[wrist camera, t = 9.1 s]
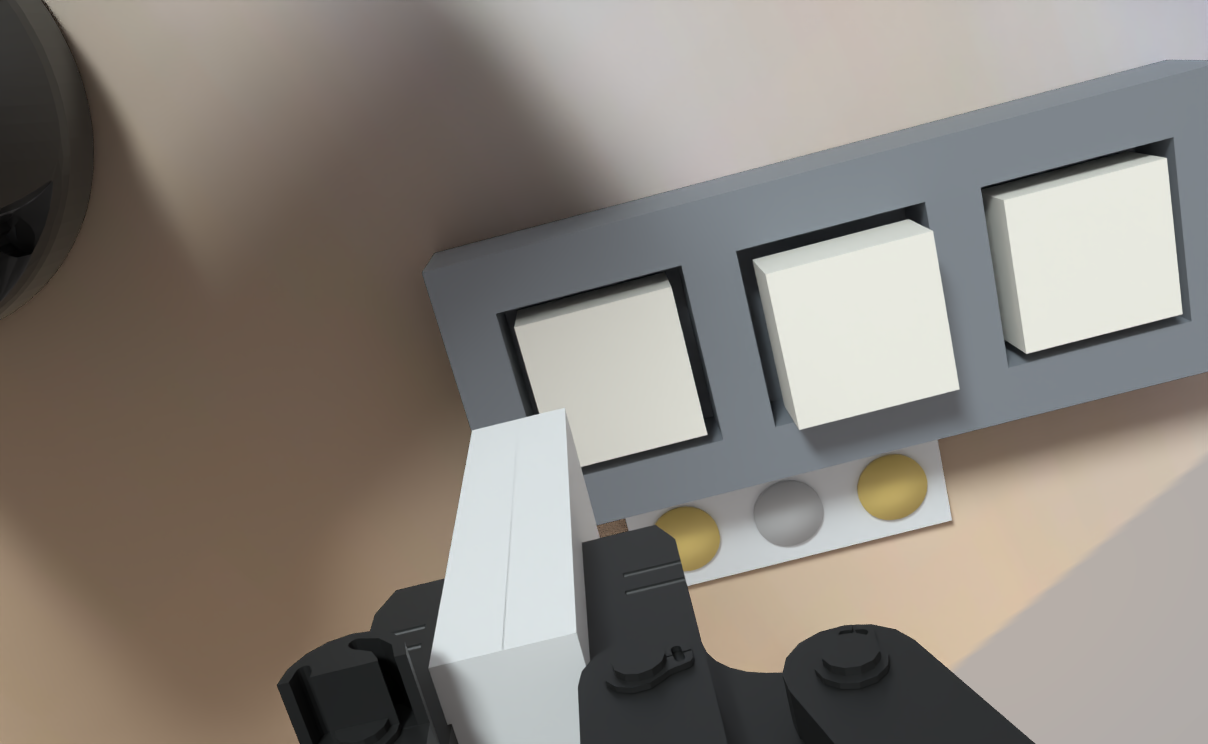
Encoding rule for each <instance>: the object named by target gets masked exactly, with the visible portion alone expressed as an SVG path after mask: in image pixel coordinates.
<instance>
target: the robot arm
mask: <svg viewBox="0 0 1208 744" xmlns="http://www.w3.org/2000/svg"><path fill="white" fill-rule="evenodd" d="M93 162H94V146H93V131H92V123H91V116H90V111H89V106H88V101H87V97H86V93H85V90H84V86H83V82H82V80H81V77H80V74H79V71H78V68H77V65H76V63H75V60H74V58H73V56H72V53H71V51H70V49H69V47H68V45H67V43H66V41H65V39H64V37H63V35H62V33H61V31H60V29H59V28H58V26H57V24H56V23H55V21H54V19H53V17H52V16H51V14H50V13H49V11H48V10H47V8H46V7H45V5H44V4H43V2H42V1H41V0H0V320H1V319H3V318H4V317H6V316H8V315H9V314H11V313H13V312H14V311H15V310H17V309H18V308H19V307H21V306H22V305H24V304H25V303H26V302H27V301H28V300H30V299H31V298H32V297H33V296H34V295H35V294H37V293H38V292H39V291H40V289H41V288H42V287H43V286H44V285H45V284H46V283H47V282H48V281H49V280H50V279H51V277H52V276H53V275H54V274H55V272H56V271H57V270H58V268H59V267H60V265H61V264H62V262H63V261H64V260H65V258H66V256H67V254H68V253H69V251H70V249H71V247H72V246H73V244H74V241H75V239H76V237H77V235H78V233H79V230H80V228H81V225H82V222H83V219H84V216H85V213H86V209H87V205H88V202H89V197H90V191H91V186H92V177H93ZM277 687H278V690H279V692H280V695H281V697H282V700H283V702H284V705H285V707H286V710H287V712H288V715H289V717H290V720H291V723H292V725H293V728H294V730H295V733H296V735H297V738H298V740H299V743H300V744H1035V743H1034V742H1033V741H1031V740H1030V739H1029V738H1028V737H1027V736H1026V735H1024V734H1023V733H1022V732H1021V731H1020V730H1019V729H1018V728H1016V727H1015V726H1014V725H1013V724H1012V723H1010V722H1009V721H1008V720H1007V719H1006V718H1005V717H1004V716H1002V715H1001V714H1000V713H999V712H998V711H997V710H995V709H994V708H993V707H992V706H991V705H990V704H989V703H987V702H986V701H985V700H983V698H982V697H980V696H979V695H978V694H977V693H976V692H974V691H973V690H972V689H971V688H970V687H969V686H967V685H966V684H965V683H964V682H963V681H962V680H961V679H959V678H958V677H957V676H956V675H955V674H954V673H952V672H951V671H950V670H949V669H948V668H947V667H945V666H944V665H943V664H942V663H941V662H940V661H938V660H937V659H936V658H935V657H934V656H933V655H932V654H930V653H929V652H928V651H927V650H926V649H925V648H923V647H922V646H921V645H920V644H919V643H918V642H916V641H915V640H914V639H912V638H910V637H908V636H907V635H905V634H903V633H901V632H899V631H898V630H896V629H891V628H887V627H882V626H877V625H872V624H868V625H844V626H840V627H837V628H833V629H829V630H825V631H821V632H819V633H817V634H815V635H813V636H812V637H810V638H808V639H806V640H804V641H803V642H801V643H799V644H798V645H797V646H796V648H795V649H794V650H793V651H792V652H791V653H790V654H789V655H788V657H787V658H786V661H785V665H784V670H783V673H758V672H746V671H741V670H737V669H733V668H729V667H727V666H725V665H723V664H721V663H719V662H717V661H716V660H714V659H713V658H712V657H711V656H710V655H709V654H708V653H707V652H706V650H705V648H704V646H703V644H702V642H701V638H700V634H699V630H698V626H697V622H696V618H695V614H694V610H693V606H692V603H691V599H690V595H689V591H688V587H687V583H686V579H685V575H684V571H683V567H682V563H681V559H680V556H679V552H678V548H677V544H676V540H675V538H673V537H672V536H670V535H669V534H668V533H666V532H665V531H663V530H662V529H661V528H659V527H658V526H656V525H652V526H648V527H644V528H640V529H636V530H631V531H627V532H623V533H619V534H615V535H611V536H607V537H603V538H600V536H599V533H598V529H597V525H596V521H595V518H594V514H593V510H592V507H591V503H590V499H589V495H588V492H587V488H586V484H585V480H584V477H583V473H582V469H581V466H580V462H579V458H578V454H577V451H576V447H575V443H574V440H573V436H572V432H571V428H570V425H569V421H568V417H567V413H566V410H565V408H562V409H557V410H553V411H549V412H545V413H541V414H537V415H533V416H529V417H525V418H521V419H517V420H513V421H509V422H504V423H500V424H496V425H492V426H488V427H484V428H480V429H476V430H472V434H471V439H470V445H469V450H468V456H467V461H466V467H465V472H464V477H463V483H462V488H461V494H460V499H459V505H458V510H457V515H456V521H455V526H454V532H453V537H452V543H451V548H450V553H449V559H448V564H447V570H446V575H445V579H441V580H437V581H433V582H429V583H424V584H420V585H416V586H412V587H408V588H404V589H400V590H396V591H395V592H394V593H393V595H392V596H391V597H390V598H389V599H388V600H387V601H386V603H385V604H384V605H383V606H382V607H381V608H380V609H379V610H378V612H377V613H376V614H375V616H374V620H373V623H372V626H371V630H370V631H369V632H361V633H354V634H350V635H347V636H345V637H342V638H339V639H336V640H333V641H330V642H327V643H326V644H324V645H322V646H320V647H318V648H317V649H315V650H313V651H311V652H309V653H307V654H306V655H304V656H303V657H302V658H301V659H300V660H298V661H297V662H296V663H295V664H294V665H292V666H291V667H290V668H289V669H288V670H287V671H286V672H285V674H284V675H283V677H282V678H281V680H280V681H279V683H278V684H277Z"/></svg>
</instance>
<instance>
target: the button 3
mask: <svg viewBox="0 0 1208 744" xmlns="http://www.w3.org/2000/svg"><path fill="white" fill-rule="evenodd" d="M981 193H982V199H983V206H984V212H985V219H986V225H987V232H988V239H989V245H990V252H991V258H992V265H993V271H994V278H995V284H996V291H997V297H998V304H999V310H1000V317H1001V323H1002V330H1003V336H1004V340H1006V341H1007V342H1009V343H1011V344H1012V345H1014V346H1015V347H1017V348H1018V349H1020V350H1021V351H1023V352H1024V353H1026V354H1028V353H1032V352H1036V351H1040V350H1043V349H1047V348H1051V347H1055V346H1059V345H1063V344H1067V343H1071V342H1075V341H1079V340H1083V339H1087V338H1091V337H1095V336H1099V335H1103V334H1106V333H1110V332H1114V331H1118V330H1122V329H1126V328H1130V327H1134V326H1138V325H1142V324H1146V323H1150V322H1154V321H1158V320H1162V319H1165V318H1169V317H1173V316H1177V315H1181V314H1183V312H1182V303H1181V293H1180V283H1179V273H1178V263H1177V253H1176V243H1175V233H1174V224H1173V214H1172V204H1171V194H1170V184H1169V174H1168V164H1167V158H1164V157H1158V156H1153V155H1147V154H1141V153H1136V152H1130V151H1127V152H1123V153H1119V154H1115V155H1112V156H1108V157H1104V158H1100V159H1096V160H1092V161H1089V162H1085V163H1081V164H1077V165H1073V166H1069V167H1066V168H1062V169H1058V170H1054V171H1050V172H1046V173H1043V174H1039V175H1035V176H1031V177H1027V178H1023V179H1020V180H1016V181H1012V182H1008V183H1004V184H1000V185H997V186H993V187H989V188H985V189H981Z"/></svg>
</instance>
